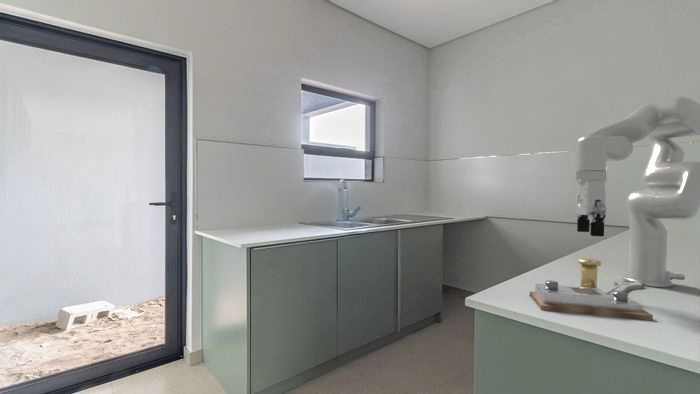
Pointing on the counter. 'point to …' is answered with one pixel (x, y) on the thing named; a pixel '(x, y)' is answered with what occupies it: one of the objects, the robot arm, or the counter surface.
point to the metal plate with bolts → (585, 297)
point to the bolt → (589, 272)
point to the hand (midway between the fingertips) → (589, 233)
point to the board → (591, 310)
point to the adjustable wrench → (624, 286)
